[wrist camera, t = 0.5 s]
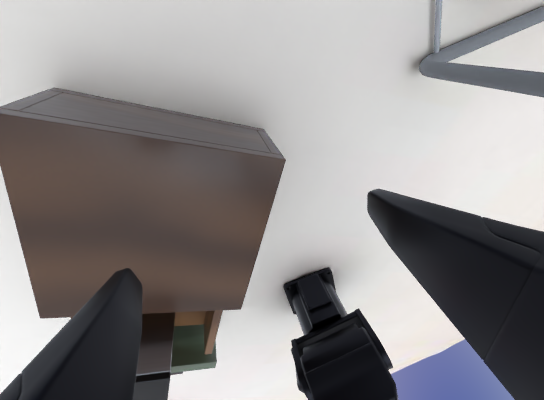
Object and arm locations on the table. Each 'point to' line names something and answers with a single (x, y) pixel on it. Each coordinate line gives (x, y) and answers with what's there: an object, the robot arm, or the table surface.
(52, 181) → the cabinet
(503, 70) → the newton's cradle
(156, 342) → the tall dark grey box
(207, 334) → the drawer
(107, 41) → the table surface
